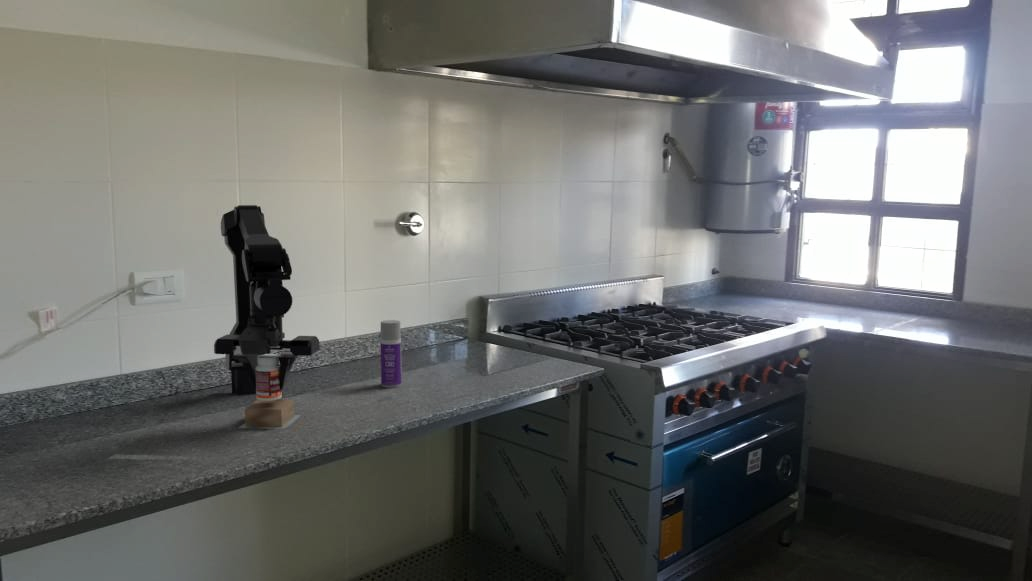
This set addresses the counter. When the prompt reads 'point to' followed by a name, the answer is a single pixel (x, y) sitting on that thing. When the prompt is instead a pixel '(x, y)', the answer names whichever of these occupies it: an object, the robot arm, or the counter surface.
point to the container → (390, 354)
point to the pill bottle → (268, 378)
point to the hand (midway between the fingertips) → (269, 388)
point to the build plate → (273, 427)
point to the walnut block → (269, 413)
